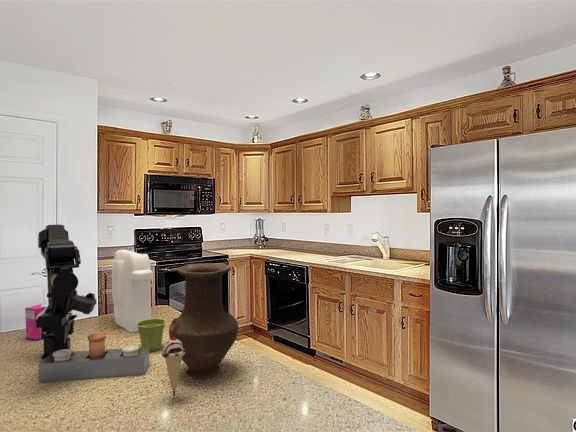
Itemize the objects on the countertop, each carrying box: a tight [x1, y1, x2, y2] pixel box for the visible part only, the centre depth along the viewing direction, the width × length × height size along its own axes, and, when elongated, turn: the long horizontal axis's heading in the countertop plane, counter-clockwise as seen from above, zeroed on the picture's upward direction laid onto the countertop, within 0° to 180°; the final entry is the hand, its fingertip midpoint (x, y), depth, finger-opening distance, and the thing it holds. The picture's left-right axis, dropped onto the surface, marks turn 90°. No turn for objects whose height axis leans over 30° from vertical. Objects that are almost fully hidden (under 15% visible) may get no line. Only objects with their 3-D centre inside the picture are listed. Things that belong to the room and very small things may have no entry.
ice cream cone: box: [161, 337, 186, 397], centre depth 95 cm, size 6×6×15 cm
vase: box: [168, 263, 239, 379], centre depth 110 cm, size 19×19×30 cm
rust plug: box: [87, 332, 107, 358], centre depth 110 cm, size 5×5×6 cm
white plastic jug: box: [111, 249, 154, 333], centre depth 153 cm, size 27×11×30 cm, turn 43°
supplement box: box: [24, 303, 48, 342], centre depth 140 cm, size 6×6×12 cm
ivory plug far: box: [121, 344, 140, 356], centre depth 111 cm, size 5×5×6 cm
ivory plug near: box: [53, 348, 73, 361], centre depth 108 cm, size 5×5×6 cm
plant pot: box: [136, 318, 167, 352], centre depth 129 cm, size 9×9×9 cm
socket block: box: [37, 346, 150, 383], centre depth 110 cm, size 27×8×5 cm, turn 100°
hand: (62, 343), depth 108 cm, fingers closed
